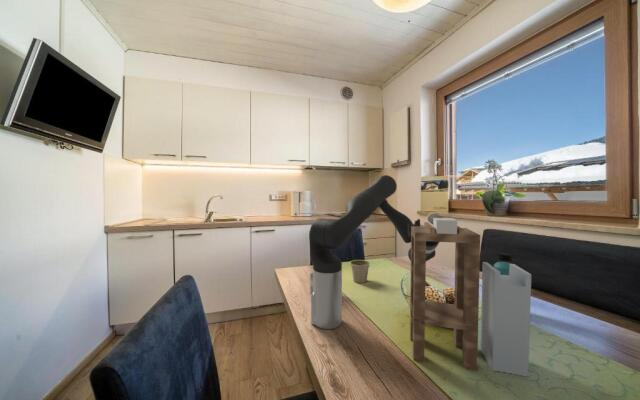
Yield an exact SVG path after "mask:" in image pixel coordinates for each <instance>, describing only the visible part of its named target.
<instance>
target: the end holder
mask: <svg viewBox="0 0 640 400" xmlns="http://www.w3.org/2000/svg"><path fill="white" fill-rule="evenodd" d="M481 270H482V273H481V274H482V276H481V279H482V280H481V281H482V282H481V311H480V312H481V319H480V321H481V322H480V351H481V353H482V355H483V357H484V356H485V357H484V359H485V360H486V362H487V363H488V366H489V367H490V369H491V370H492V372H497V371H500V372H499V373H503V372H506V373H505V374H509V373H512V374H511V375H515V374H518V375H517V376H521V375H522V376H521V377H527V378H528V377H529V361H530V360H529V357H530V335H531V334H530V331H531V330H530V328H531V327H530V326H531V303H532V302H531V300H532V299H531V297H532V274H531V273H530V272H528V271H526V270H524V269H523V268H521V267H519V266H518V265H517V264H514V263H511V264H509V275H500V272H499V271H498V270H497V269H495V268H494V265H492V264H490V263H488V262H487V261H486V262H485V261H483V262H482V269H481Z"/></svg>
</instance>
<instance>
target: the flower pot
mask: <svg viewBox="0 0 640 400" xmlns="http://www.w3.org/2000/svg"><path fill="white" fill-rule="evenodd" d="M349 264H350V267H351V273H352V280H353V281H352V282H354V283H357V284H365V283H367V281H368V274H369V268H370V266H371V262H370V261H368V260H364V259H353V260H351V261H349Z"/></svg>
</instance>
